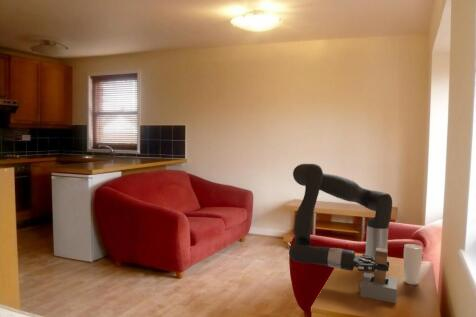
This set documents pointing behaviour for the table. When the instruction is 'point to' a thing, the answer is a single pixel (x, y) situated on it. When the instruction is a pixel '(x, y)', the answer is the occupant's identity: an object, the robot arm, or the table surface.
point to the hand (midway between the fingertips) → (388, 266)
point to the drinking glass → (412, 263)
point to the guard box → (379, 288)
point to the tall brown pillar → (380, 259)
